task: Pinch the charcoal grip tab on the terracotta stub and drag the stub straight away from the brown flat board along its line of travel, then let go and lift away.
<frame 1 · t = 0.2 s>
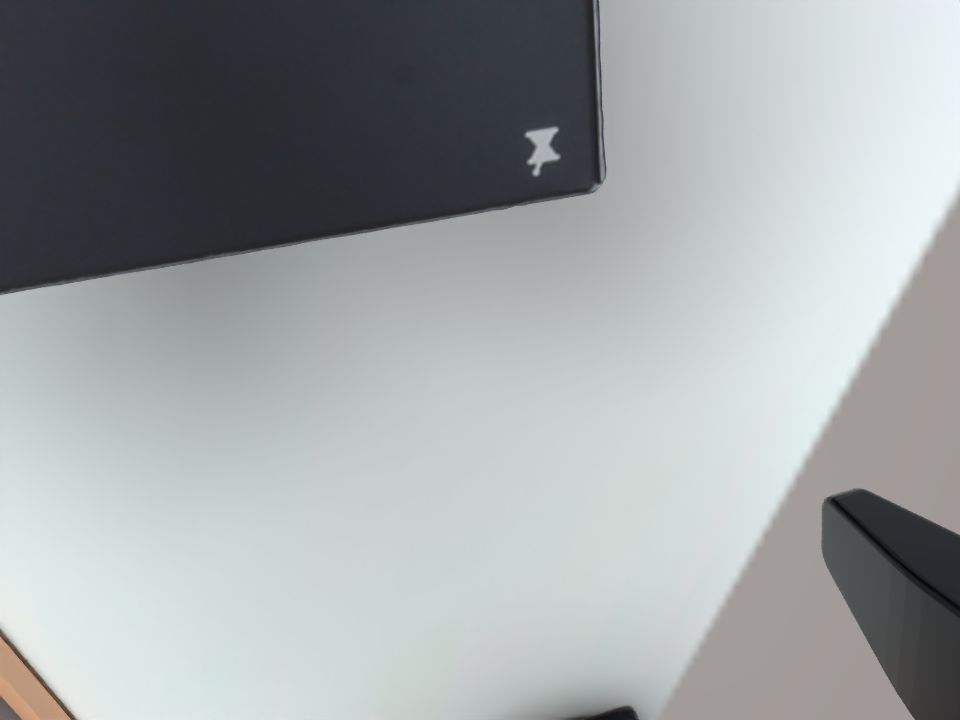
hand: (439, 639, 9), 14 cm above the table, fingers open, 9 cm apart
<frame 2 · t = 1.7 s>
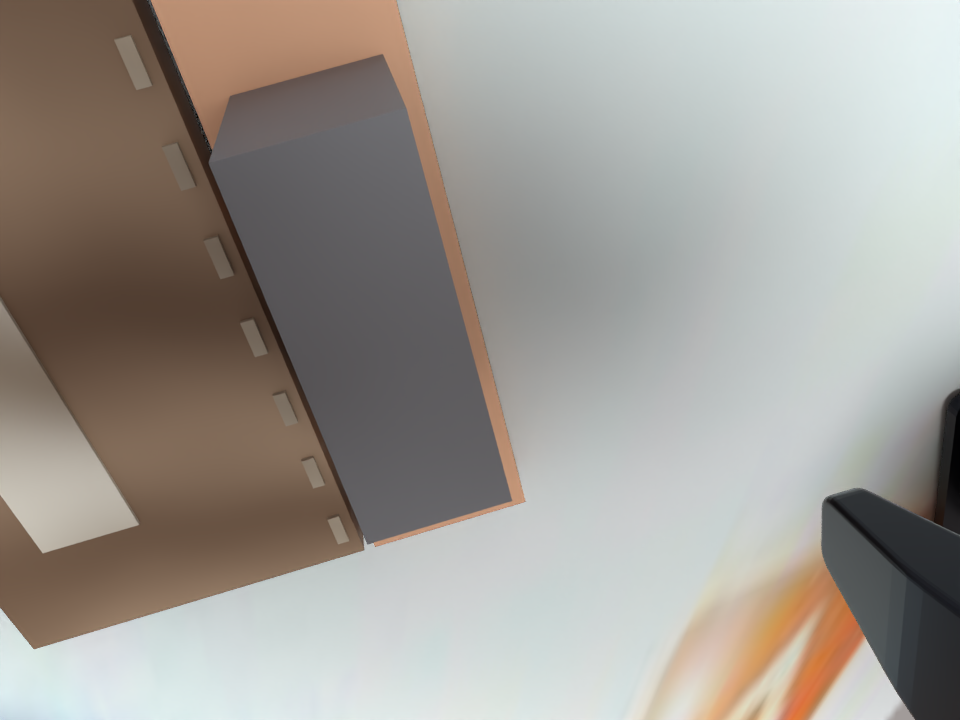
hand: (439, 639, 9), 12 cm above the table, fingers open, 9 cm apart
brown flat board: (64, 324, 18), on the table
stub: (368, 294, 16), point 3 cm above the table, slide at 0.0 cm
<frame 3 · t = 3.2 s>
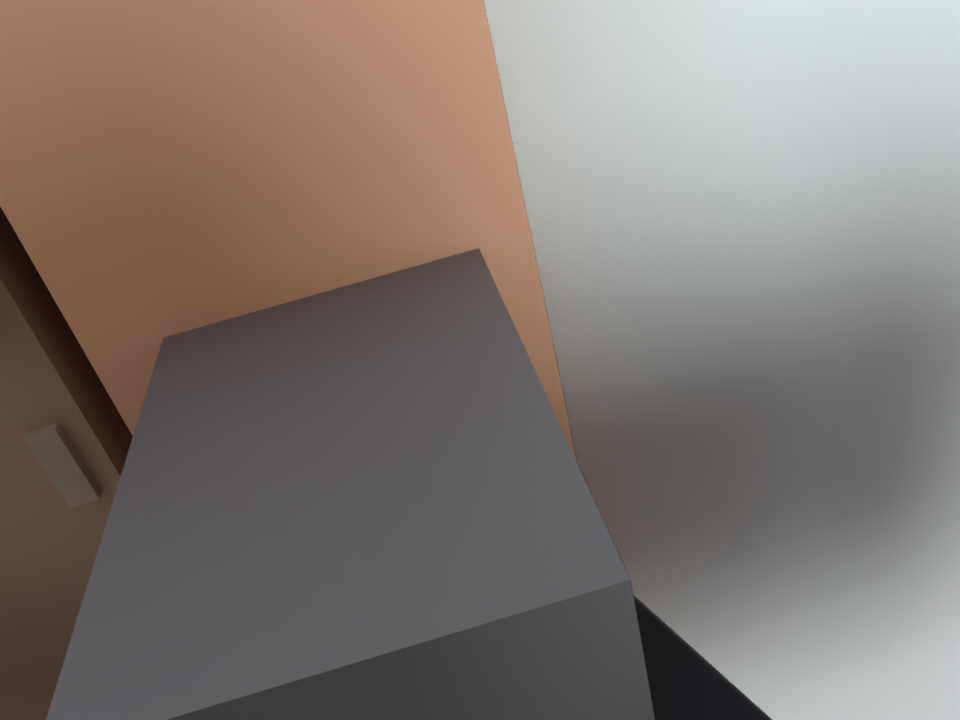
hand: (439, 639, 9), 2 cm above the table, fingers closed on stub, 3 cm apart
stub: (440, 703, 8), point 3 cm above the table, slide at 0.0 cm, touching gripper
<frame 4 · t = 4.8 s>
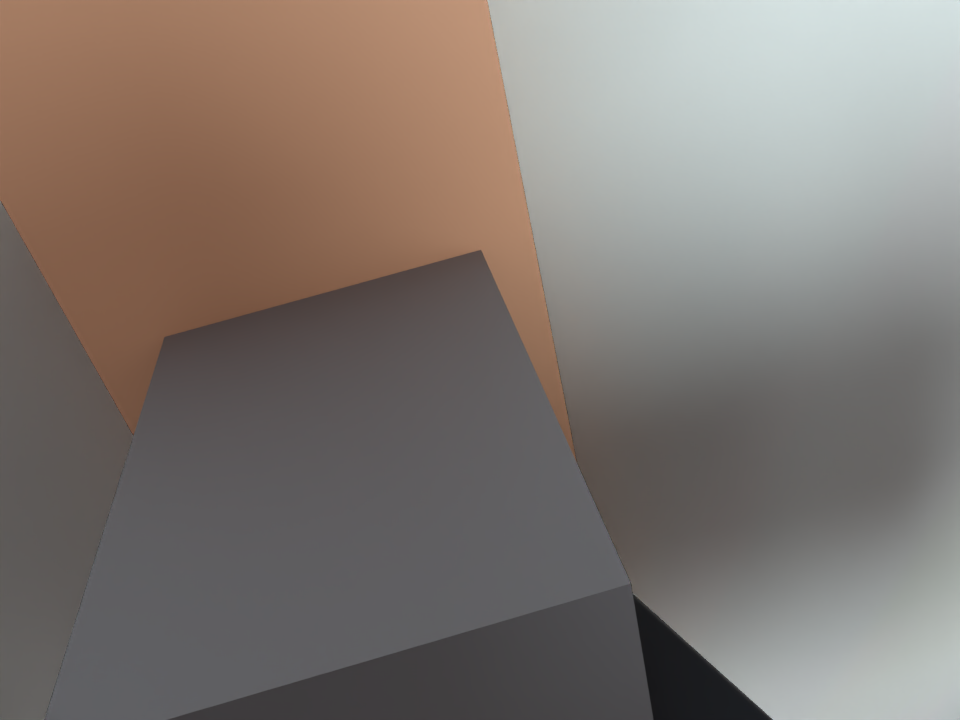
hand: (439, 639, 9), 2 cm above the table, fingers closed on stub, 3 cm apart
stub: (439, 705, 8), point 3 cm above the table, slide at 5.0 cm, touching gripper
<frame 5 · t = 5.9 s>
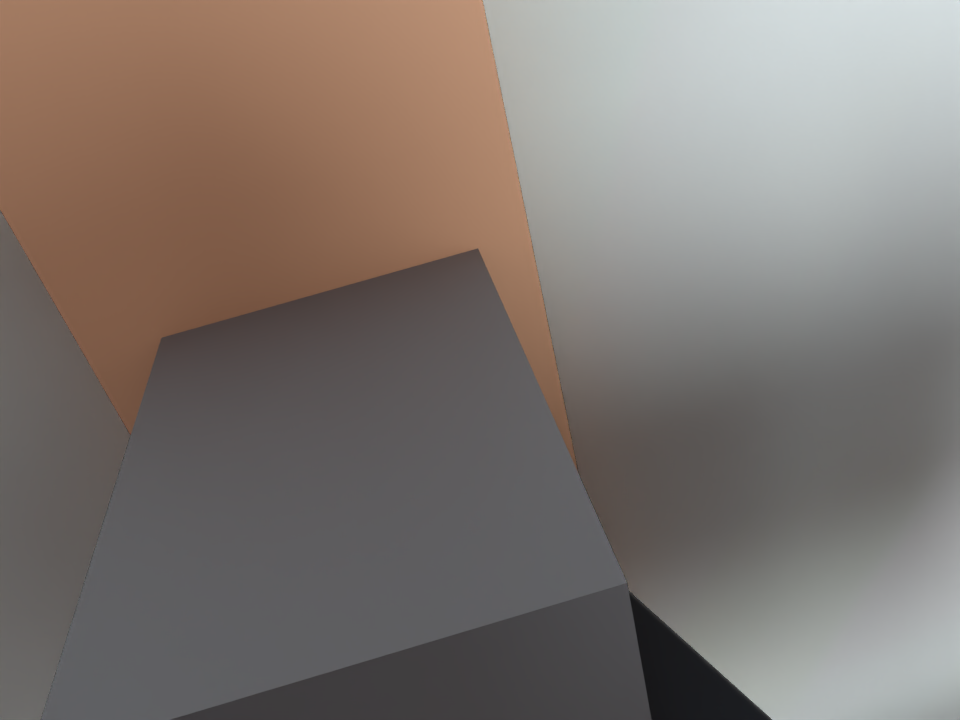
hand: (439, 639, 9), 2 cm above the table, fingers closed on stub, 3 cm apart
stub: (439, 704, 8), point 3 cm above the table, slide at 8.7 cm, touching gripper
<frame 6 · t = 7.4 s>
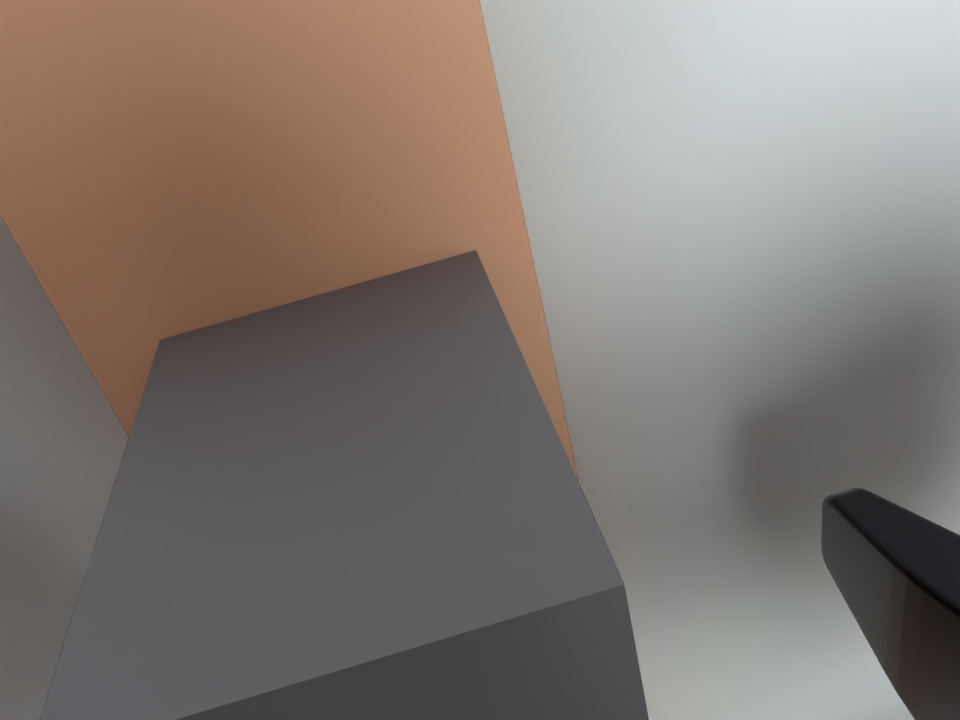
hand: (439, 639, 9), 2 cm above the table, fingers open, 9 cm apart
stub: (438, 705, 8), point 3 cm above the table, slide at 8.7 cm
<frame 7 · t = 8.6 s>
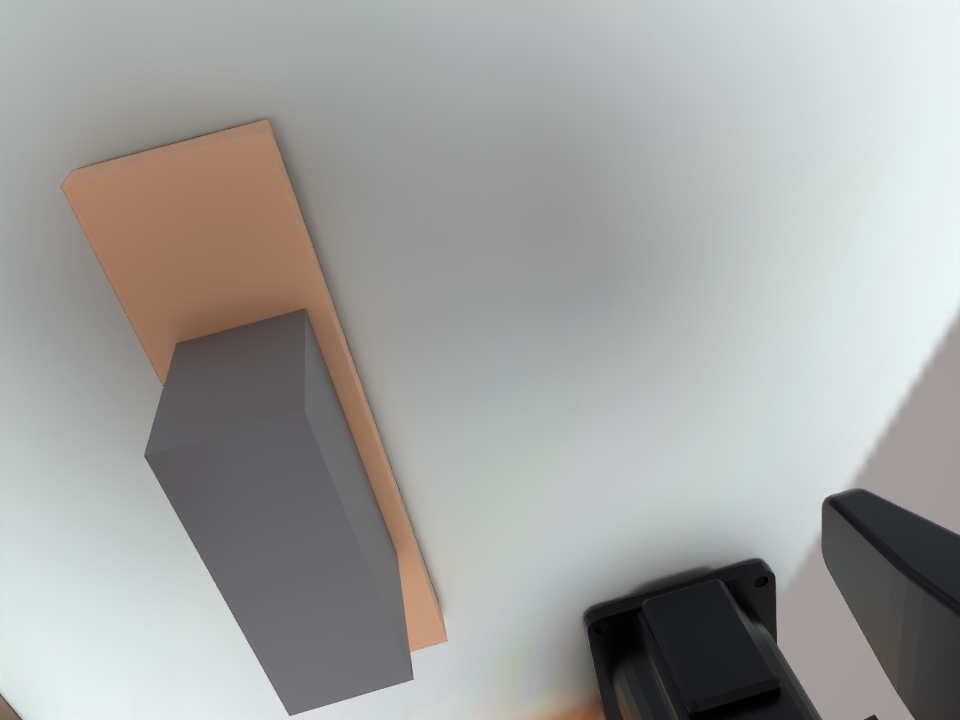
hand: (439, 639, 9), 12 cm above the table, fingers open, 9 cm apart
stub: (293, 502, 19), point 3 cm above the table, slide at 8.7 cm
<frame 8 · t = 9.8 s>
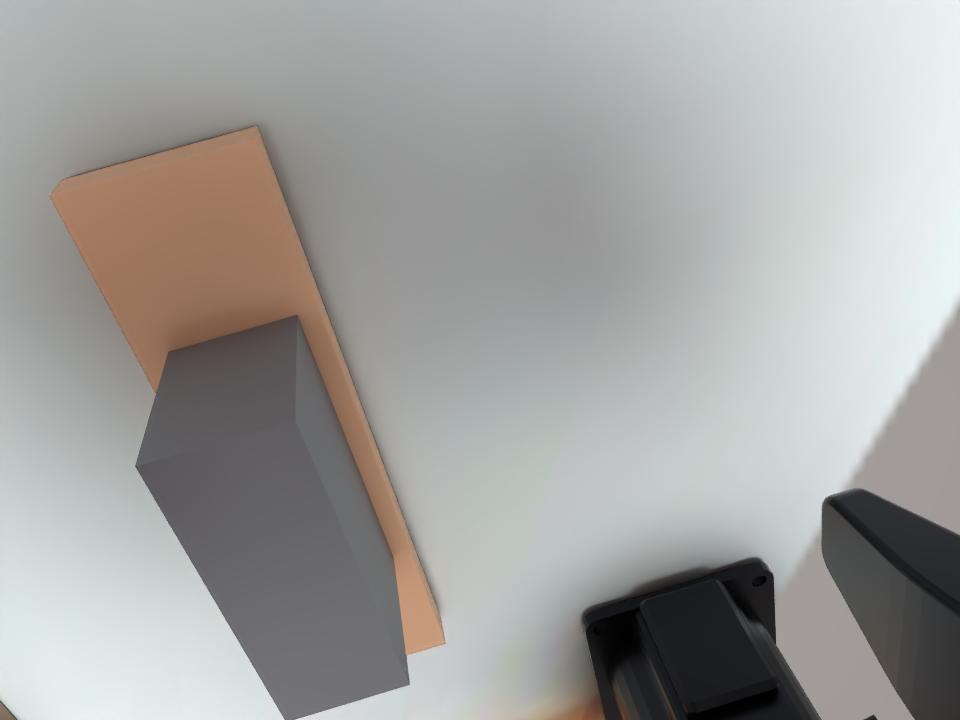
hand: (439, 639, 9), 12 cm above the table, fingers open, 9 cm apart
stub: (287, 508, 19), point 3 cm above the table, slide at 8.7 cm
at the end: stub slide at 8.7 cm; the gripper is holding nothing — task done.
